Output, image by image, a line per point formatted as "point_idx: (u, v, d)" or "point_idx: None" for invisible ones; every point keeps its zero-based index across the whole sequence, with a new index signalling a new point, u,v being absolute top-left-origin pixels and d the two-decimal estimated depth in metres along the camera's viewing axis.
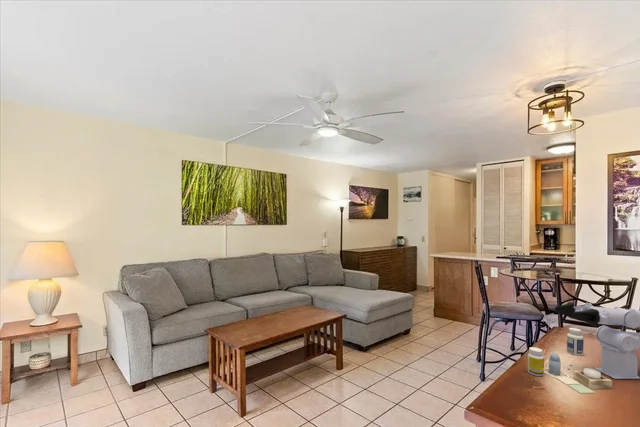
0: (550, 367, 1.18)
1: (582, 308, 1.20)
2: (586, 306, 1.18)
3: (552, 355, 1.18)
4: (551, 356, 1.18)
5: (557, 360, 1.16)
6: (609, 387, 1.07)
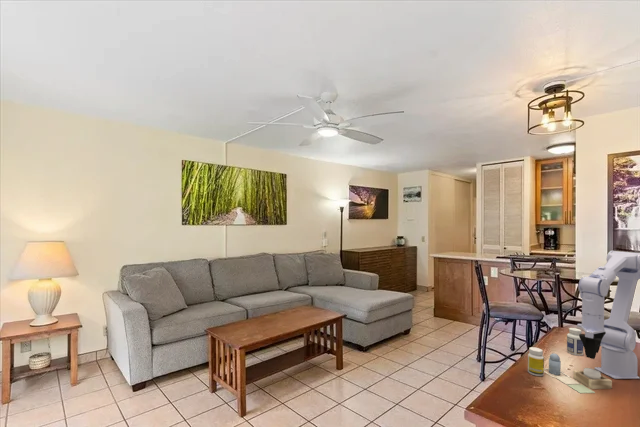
0: (550, 367, 1.18)
1: None
2: None
3: (552, 355, 1.18)
4: (551, 356, 1.18)
5: (557, 360, 1.16)
6: (609, 387, 1.07)
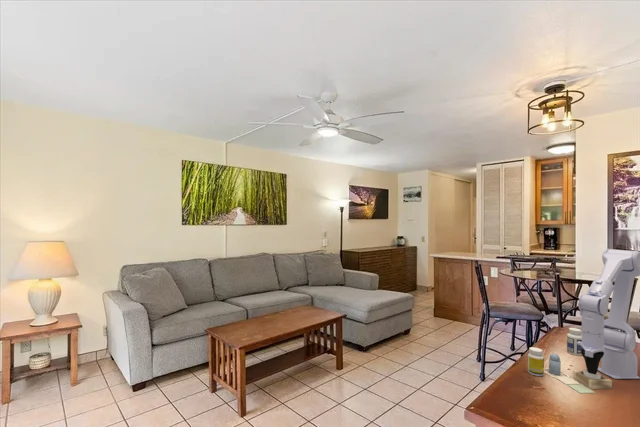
0: (550, 367, 1.18)
1: None
2: None
3: (552, 355, 1.18)
4: (551, 356, 1.18)
5: (557, 360, 1.16)
6: (609, 387, 1.07)
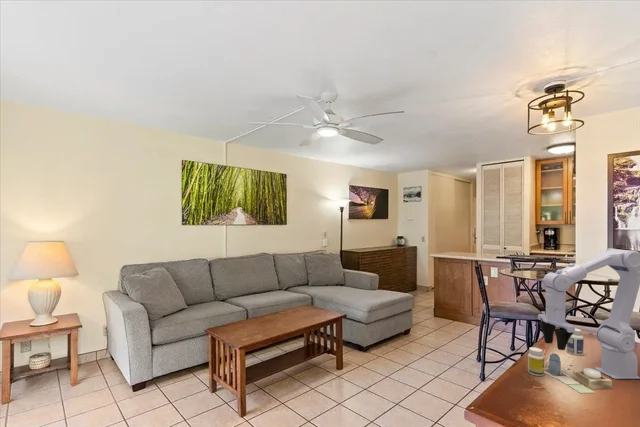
0: (550, 367, 1.18)
1: None
2: None
3: (552, 355, 1.18)
4: (551, 356, 1.18)
5: (557, 360, 1.16)
6: (609, 387, 1.07)
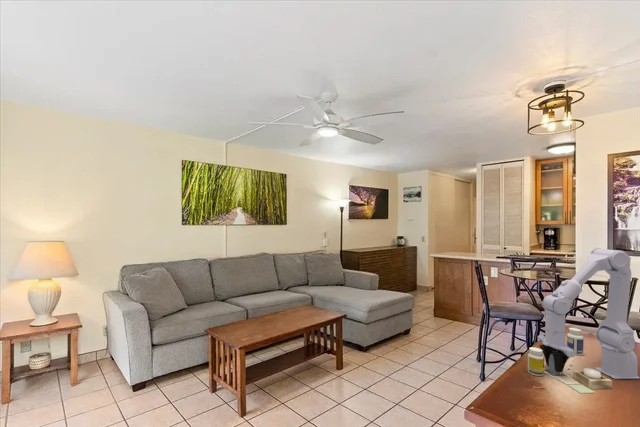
0: (550, 367, 1.18)
1: None
2: None
3: (552, 355, 1.18)
4: (551, 356, 1.18)
5: None
6: (609, 387, 1.07)
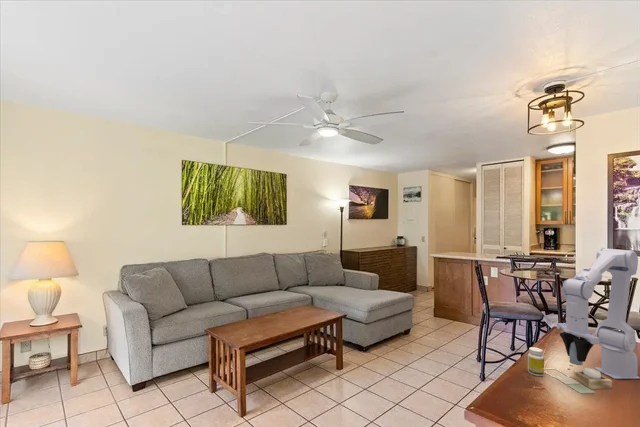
0: (571, 356, 1.09)
1: None
2: None
3: (573, 343, 1.09)
4: (572, 344, 1.09)
5: None
6: (609, 387, 1.07)
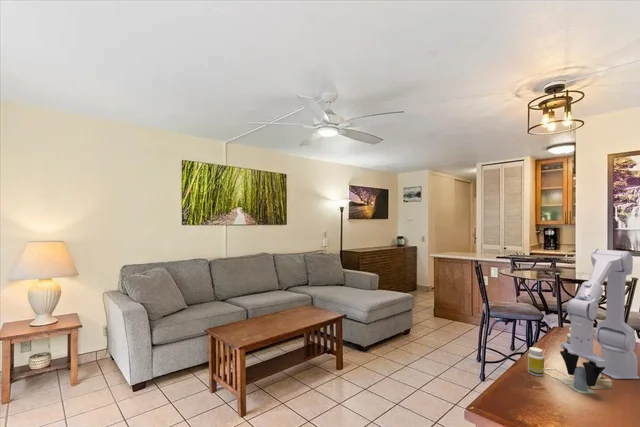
0: (576, 382, 1.07)
1: None
2: None
3: (578, 368, 1.07)
4: (577, 370, 1.07)
5: (584, 374, 1.05)
6: (609, 387, 1.07)
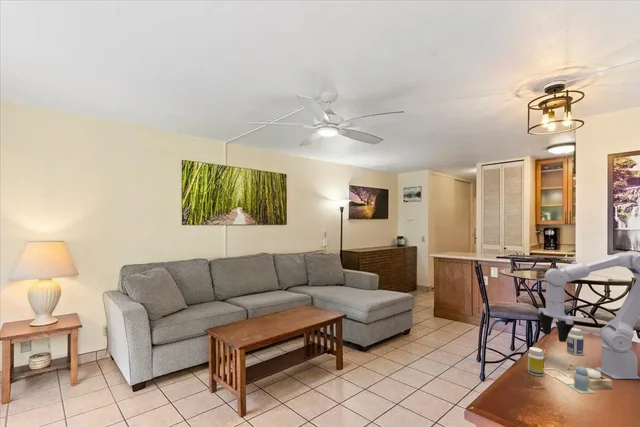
0: (576, 381, 1.06)
1: None
2: (547, 314, 1.26)
3: (579, 368, 1.07)
4: (578, 369, 1.07)
5: (585, 374, 1.05)
6: (609, 387, 1.07)
